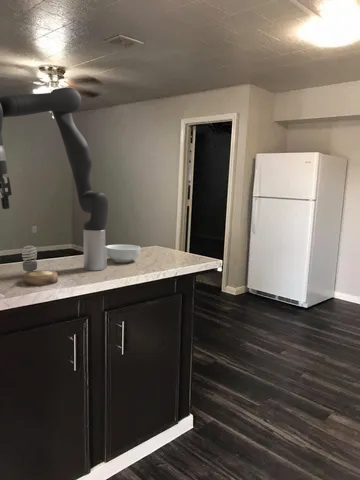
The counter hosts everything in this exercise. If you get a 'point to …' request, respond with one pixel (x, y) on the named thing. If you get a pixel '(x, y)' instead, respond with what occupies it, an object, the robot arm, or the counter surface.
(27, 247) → the light bulb
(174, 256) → the counter surface
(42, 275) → the bulb stand
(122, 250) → the cereal bowl
